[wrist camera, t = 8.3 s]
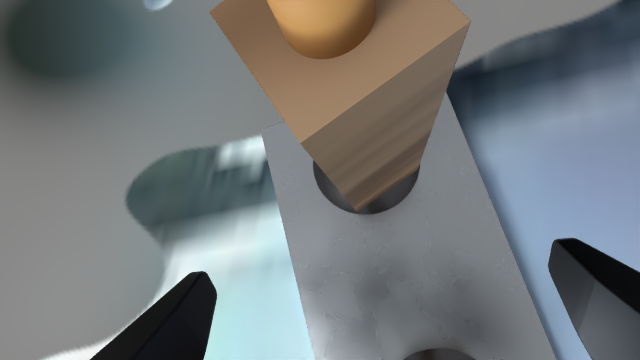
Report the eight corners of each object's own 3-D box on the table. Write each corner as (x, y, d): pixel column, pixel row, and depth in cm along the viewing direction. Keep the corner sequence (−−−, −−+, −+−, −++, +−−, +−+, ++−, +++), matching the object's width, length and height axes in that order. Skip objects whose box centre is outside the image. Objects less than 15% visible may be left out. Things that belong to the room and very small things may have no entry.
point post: (417, 169, 18) (495, -49, 5) (356, 212, 18) (274, 112, 5) (374, 115, 19) (342, -179, 6) (317, 156, 19) (166, -45, 6)
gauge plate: (605, 490, 14) (616, 502, 13) (358, 529, 15) (357, 542, 15) (435, 74, 19) (436, 68, 19) (264, 133, 21) (259, 129, 20)
